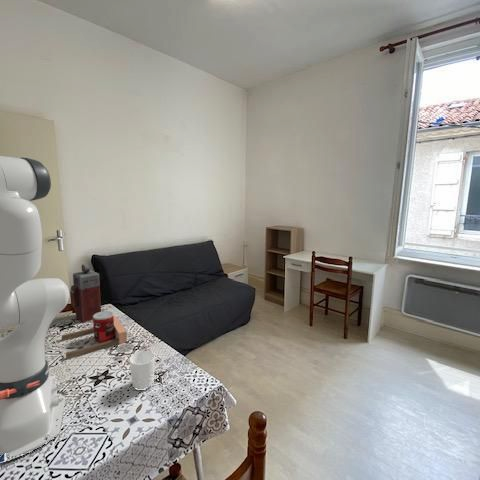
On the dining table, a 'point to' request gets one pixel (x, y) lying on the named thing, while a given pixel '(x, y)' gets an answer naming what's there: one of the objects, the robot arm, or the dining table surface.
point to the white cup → (142, 369)
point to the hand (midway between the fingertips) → (16, 297)
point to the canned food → (103, 326)
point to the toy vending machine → (86, 294)
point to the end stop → (119, 331)
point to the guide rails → (90, 348)
